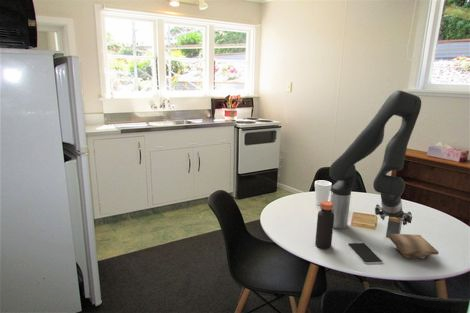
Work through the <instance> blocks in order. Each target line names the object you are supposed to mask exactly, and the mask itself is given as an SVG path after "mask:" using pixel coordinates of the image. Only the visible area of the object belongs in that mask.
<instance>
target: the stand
mask: <svg viewBox="0 0 470 313" xmlns="http://www.w3.org/2000/svg"><path fill="white" fill-rule="evenodd" d="M387 236H388V237H387V238H388V239H389V240H390V241H391V242H392V243H393V244H394V245H395V248H396V249H397V250H398V251H399V253H401V255H402V256H403V257H404V258H409V259H410V258H414V259H426V256H427V255H434V256H435V255H436V256H437V255H439V254H440V253H439V251H438V249H436V248H435V247H434V246H433V245H432V244H430V242H428V241H427V239H425V238H424V237H423V236H422V235H421V234H411V233H410V234H408V233H406V234H405V233H404V234H403V233H400V234H388V235H387Z"/></svg>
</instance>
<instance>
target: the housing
mask: <svg viewBox="0 0 470 313" xmlns="http://www.w3.org/2000/svg"><path fill="white" fill-rule="evenodd" d="M387 220H388V221H387V226H386V232H385V237H386V238H389V237H388V236H387V235H388V234H401V231H402V226H403V221H400V220H398V219H397V218H394V217H389V216H388V219H387Z"/></svg>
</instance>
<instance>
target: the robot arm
mask: <svg viewBox="0 0 470 313" xmlns="http://www.w3.org/2000/svg"><path fill="white" fill-rule="evenodd" d="M421 108H422V100H421V98H420V97H419V96H418V95H416V94H413V93H410V92H407V91H403V90H395V91H393V92H391V94H390V95H389V96H388V97H387V98H386V99H385V101H384V103H383V104H382V105H381V107H380V108H379V110H378V111H377V113H376V114H375V115H374V117H373V118H372V119H371V120H370V121H369V123H368V124H367V125H366V127H365V128H364V129H363V130H362V131H361V132H360V133H359V134H358V136H356V138H355V139H354V140H353V142H352V143H351V144H350V145H349V146H348V147H347V149H346V150H345V151H344V152H343V153H342V154H341V155H340V156H339V157H337V159H336V160H334V161H333V162H332V164H331V165H330V166H329V170H328V172H329V176H330V178H331V179H332V180H333V181H336V182H335V183H334V184H333V185H331V189H330V198H329V202H332V203H333V209H332V212H333V214H334V224H333V229H341V230H342V229H346V228H347V227H348V222H349V212H350V206H351V204H350V203H351V198H352V197H351V196H352V191H353V189H354V185H355V180H356V172H357V168H356V164H357V163H358V162H360V161H362V160H363V159H365V158H367V157H368V156H369V155H371V154H373V153H374V152H375V151H376V149H377V148H378V147H379V146H381V144H382V143H383V142H384V138H385V128H386V125H387V123H388V122H389V120H390V119H391V118H392V117H394V116H396V117H400V118H401V125H400V127H399V128H398V129H397V132H396V133H395V134H394V135H393V136H392V137H391V139H390V140H389V141H388V143H387V144H386V146H385V149H384V150H385V151H384V156H383V159H382V164H381V166H380V168H379V170H378V173H377V174H376V175H375V178H374V180H373V184H372V185H373V190H374V191H375V192H376V193H380V198H381V200H380V201H381V202H380V205H381V206H380V205H379V204H375V208H374V213H375V215H376V216H379V217H380V219H382V220H383V221H384V220H385V218H386V217H388V218H389V217H394V218H397V219H398V220H400V221H402V226H405V225H407V224H412V219H413V216H412V215H413V214H412V212H411V211H407V212H404V211H403V201H402V197H401V196H402V194H403V193H404V191H405V188H406V183H405V181H404V179H403V178H402V177H399V176H393V175H388V173H389V172H392V171H393V172H394V171H395V172H396V171H402V169H403V168H404V164H405V159H406V154H407V149H408V144H409V142H410V139H411V135H412V134H413V131H414V128H415V126H416V123H417V120H418V117H419V115H420V112H421Z"/></svg>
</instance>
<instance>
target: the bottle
mask: <svg viewBox="0 0 470 313" xmlns="http://www.w3.org/2000/svg"><path fill="white" fill-rule="evenodd" d="M332 209H333V203H332V202H330V200H328V201H322V202H321V206H320V210H318V212H317V220H316V228H315V229H316V230H315V241H314V242H315V243H314V244H315V246H316V247H317V248H319V249H321V250H328V249H331V248H332V242H333V232H334V227H333V224H334V214H333V212H332Z"/></svg>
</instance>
